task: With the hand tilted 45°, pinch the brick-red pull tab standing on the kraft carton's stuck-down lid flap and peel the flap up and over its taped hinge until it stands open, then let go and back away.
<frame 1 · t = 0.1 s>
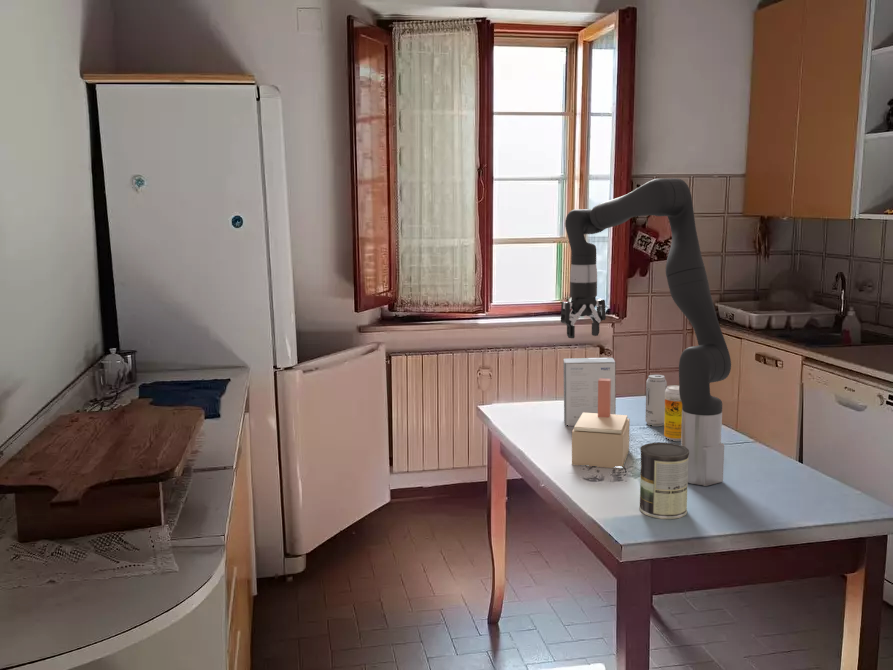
hand: (583, 336, 230), 29 cm above the table, tool pointing down, fingers open, 8 cm apart
carton: (601, 457, 215), on the table
flap: (601, 404, 212), point 15 cm above the table, hinge at 0.0°
coffee can: (663, 511, 178), on the table
energy drink can: (655, 424, 245), on the table
beer can: (674, 439, 231), on the table
hard drive box: (588, 423, 248), on the table
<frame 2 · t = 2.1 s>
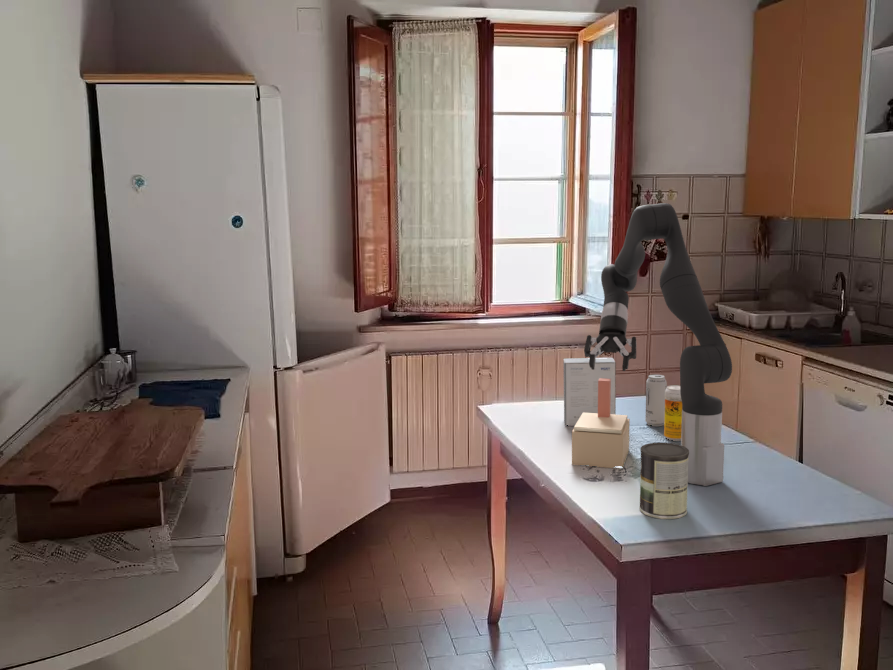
hand: (608, 368, 222), 22 cm above the table, tool tilted 45°, fingers open, 8 cm apart
nothing on the table moved.
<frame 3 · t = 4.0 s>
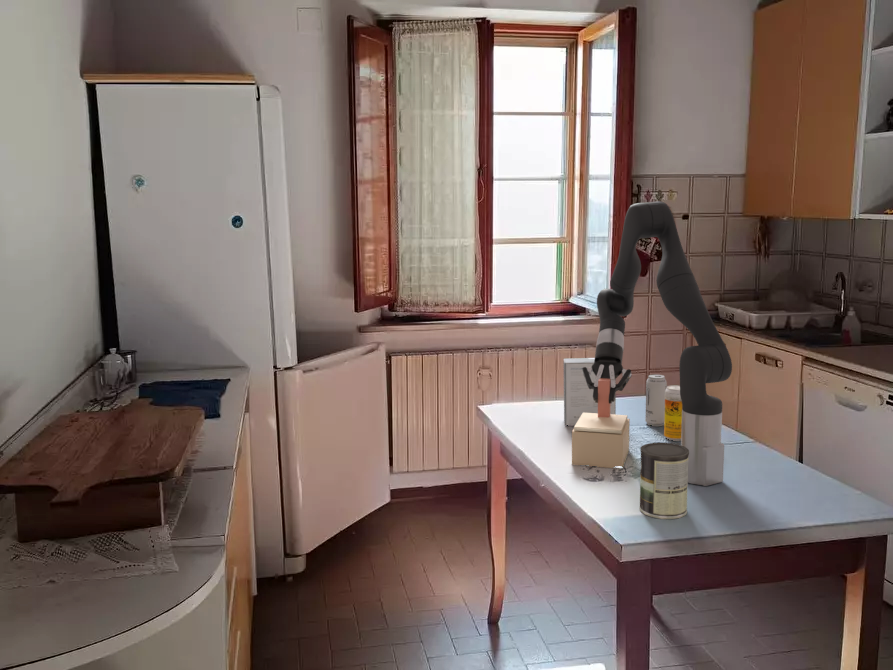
hand: (603, 401, 215), 15 cm above the table, tool tilted 45°, fingers closed on flap, 3 cm apart
flap: (601, 404, 212), point 15 cm above the table, hinge at 0.0°, touching gripper
everything else where it was.
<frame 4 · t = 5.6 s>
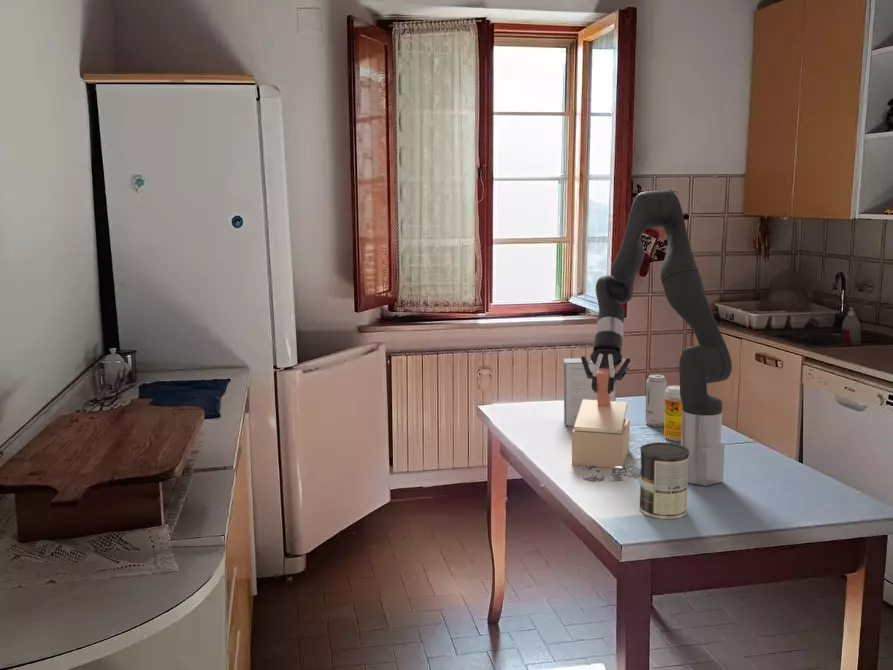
hand: (602, 391, 212), 18 cm above the table, tool tilted 45°, fingers closed on flap, 3 cm apart
flap: (600, 399, 210), point 16 cm above the table, hinge at 15.0°, touching gripper
everything else where it was.
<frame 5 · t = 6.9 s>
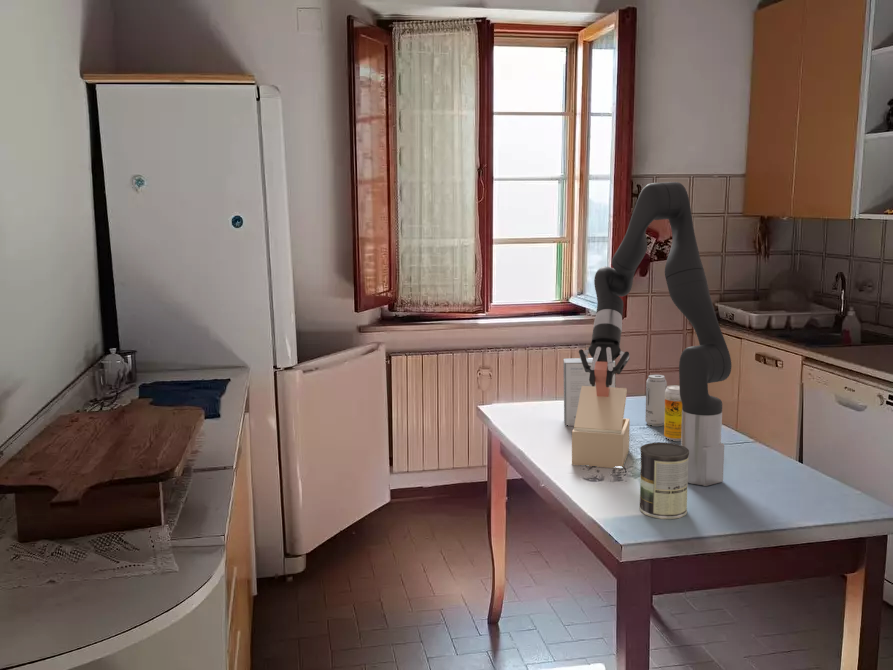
hand: (600, 385, 208), 21 cm above the table, tool tilted 45°, fingers closed on flap, 3 cm apart
flap: (599, 396, 207), point 18 cm above the table, hinge at 33.3°, touching gripper
everything else where it was.
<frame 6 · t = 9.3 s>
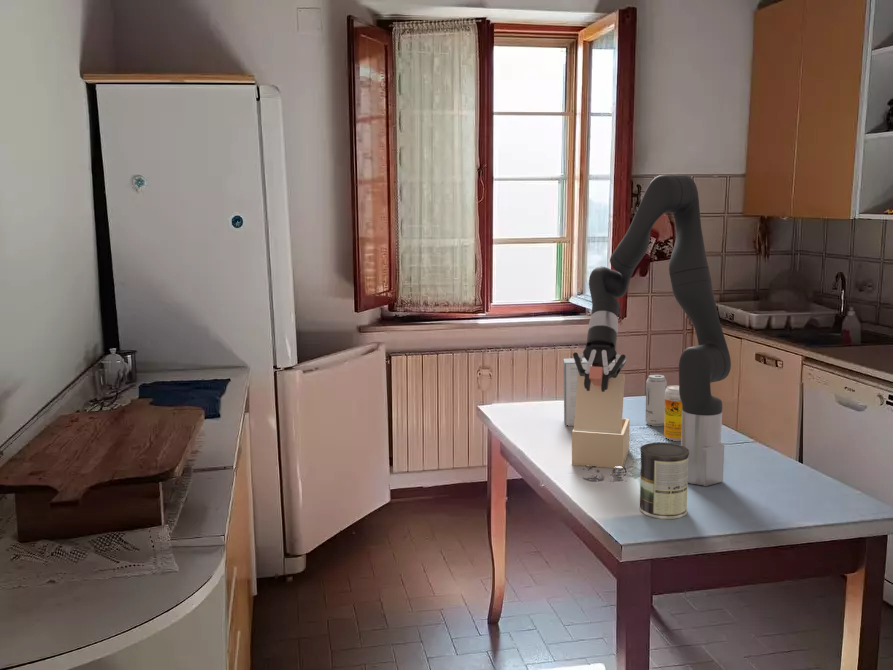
hand: (595, 389, 199), 22 cm above the table, tool tilted 45°, fingers open, 3 cm apart
flap: (596, 399, 203), point 18 cm above the table, hinge at 66.8°
everything else where it was.
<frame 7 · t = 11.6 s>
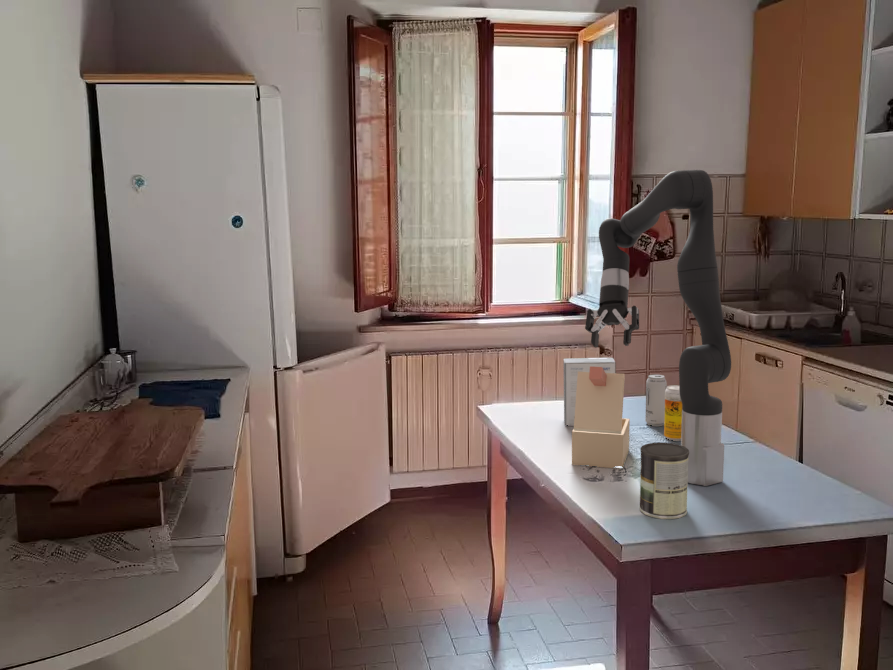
hand: (610, 345, 212), 30 cm above the table, tool tilted 30°, fingers open, 8 cm apart
nothing on the table moved.
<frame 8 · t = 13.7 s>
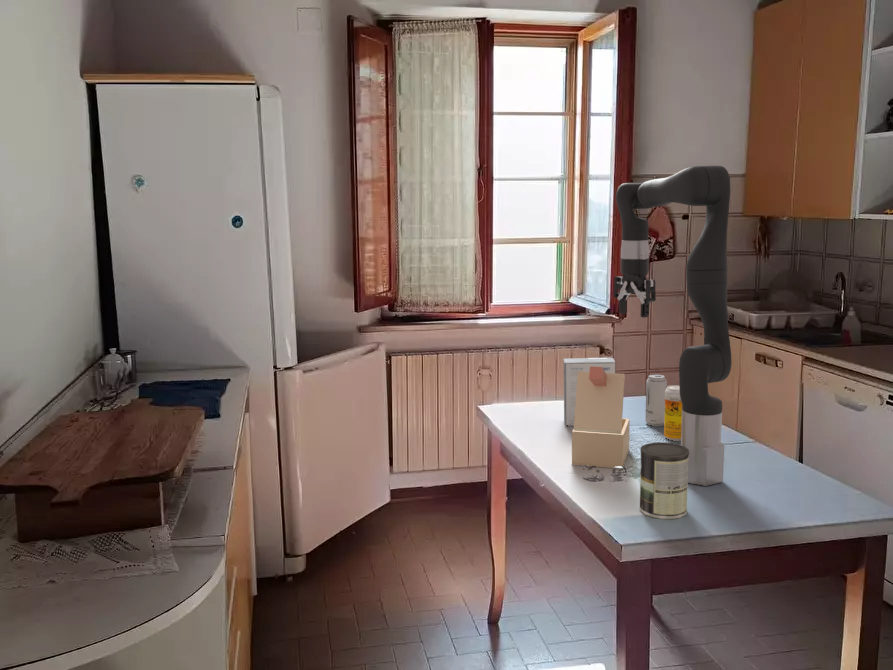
hand: (633, 315, 223), 36 cm above the table, tool pointing down, fingers open, 8 cm apart
nothing on the table moved.
at the end: flap at +67° (first picture: +0°); the gripper is holding nothing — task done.
